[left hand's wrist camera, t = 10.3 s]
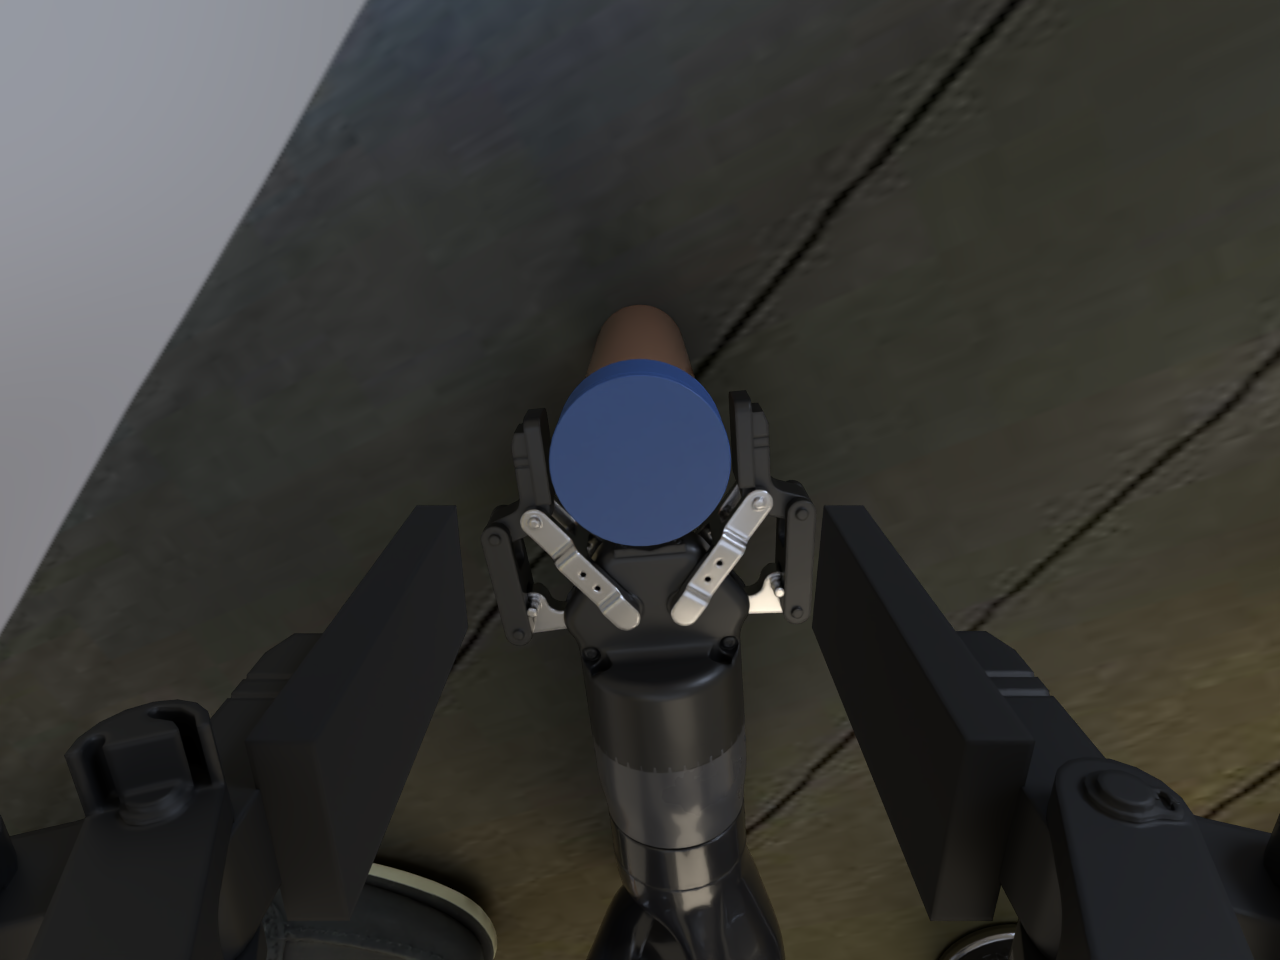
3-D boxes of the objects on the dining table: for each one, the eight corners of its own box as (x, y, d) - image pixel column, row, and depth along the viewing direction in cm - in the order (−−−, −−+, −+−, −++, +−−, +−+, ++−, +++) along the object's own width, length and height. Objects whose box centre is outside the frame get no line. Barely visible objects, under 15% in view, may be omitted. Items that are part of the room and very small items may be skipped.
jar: (698, 328, 35) (743, 424, 20) (660, 405, 37) (674, 550, 22) (618, 289, 35) (602, 358, 19) (582, 369, 36) (540, 492, 21)
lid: (752, 402, 22) (764, 422, 20) (677, 540, 23) (680, 572, 21) (598, 329, 21) (594, 342, 19) (531, 477, 23) (520, 504, 21)
